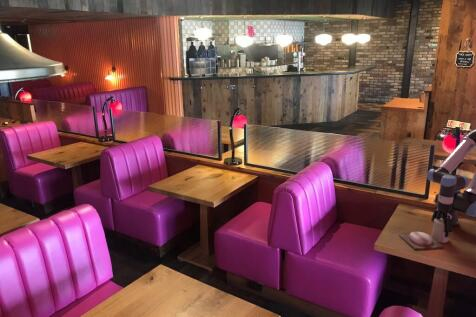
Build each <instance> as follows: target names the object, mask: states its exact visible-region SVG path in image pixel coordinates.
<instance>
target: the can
mask: <svg viewBox="0 0 476 317" xmlns="http://www.w3.org/2000/svg"><path fill="white" fill-rule="evenodd" d="M432 224H433V223H432ZM444 225H445V224H444V222H443V220H442V218H441V219H436V218H435V219H434V224H433V225H432V234H431V236H432V238H433V239H434V240H435V241H437V242H438V243H440V244H441V243H443V244H444V243H445V244H446V243H448V242H449V238H450V235H449V236H448V239H447V242H442V238H443V232H444V231H445V229H444ZM450 233H451V232H449V234H450Z"/></svg>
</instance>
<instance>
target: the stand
mask: <svg viewBox="0 0 476 317" xmlns="http://www.w3.org/2000/svg"><path fill="white" fill-rule="evenodd" d="M398 236H399V237H400V239H402V240H403V241H404V242H405V243H406V244H407V245H408V246H410V248H412V250H414V251H420V250H421V251H422V250H424V251H425V250H437V249H444V246H443V245H442V244H441V243H440V242H437V241H435V240H434V239H433V238H432V235H430V234H428V233H427V232H422V231H412V232H410V233H402V234H401V233H400V234H399V235H398Z"/></svg>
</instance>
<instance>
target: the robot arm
mask: <svg viewBox="0 0 476 317" xmlns="http://www.w3.org/2000/svg"><path fill="white" fill-rule="evenodd" d="M472 150H476V128H475V129H472V130H470V131H469V132H467V133H466V134H465V135H463V136H462V138H461V140H460V143H459V144H458V145H457V146H456V147H455V148H454V149H453V150H452V151H451V153H450V154H449V155H448V156H447V157H446V158H445V159H444V160H443V161H442V162H441V164H440V165H438V167H437V168H430V169H429V170H428V172H427V174H426V175H427V176H426V178H427V180H428V181H431V182H433V183H436V184H439V191H438V193H437V194H438V196H437V203H436V206H434V210H433V214H432V215H431V219H430V220H431V222H432V224H434V219H435V218H436V219H441V218H442V220H443V222H444V224H445V225H444V229H445V231H444V232H443V238H442V242H446V243H448V242H447V239H448V236H449V237H450V233H453V227H455V226H457V225H458V224H459V218H458V213H457V212H459V213H462V214H465V215H467V216H470V217H473V218H476V170H475V171H474V173H473V175H472V177H471V181H470V180H469V178H468V177H467V176H465V175H456V174H452V172H453V171H454V170H455V169H456V168H457V167H458V166H459V165H460V163H461V162H462V161H463V160H464V159H465V158H466V157H467V155H469V153H471V151H472ZM461 190H463V192H461ZM449 232H450V233H449Z"/></svg>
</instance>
